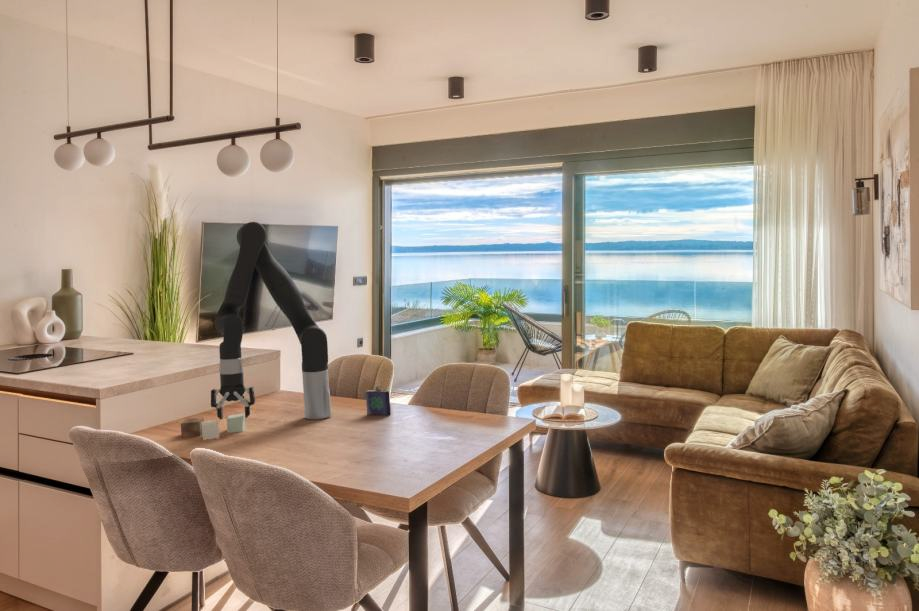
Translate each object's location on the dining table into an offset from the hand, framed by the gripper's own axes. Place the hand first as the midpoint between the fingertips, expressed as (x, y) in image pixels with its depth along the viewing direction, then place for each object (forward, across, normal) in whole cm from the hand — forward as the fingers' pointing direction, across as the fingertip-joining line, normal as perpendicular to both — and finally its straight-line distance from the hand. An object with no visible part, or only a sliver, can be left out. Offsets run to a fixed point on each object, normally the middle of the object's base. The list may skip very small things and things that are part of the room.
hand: (234, 418), depth 227 cm
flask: (+4, -50, -5) cm, 50 cm away
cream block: (+4, +6, +7) cm, 11 cm away
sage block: (+4, -1, 0) cm, 4 cm away
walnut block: (+5, +13, +2) cm, 14 cm away
